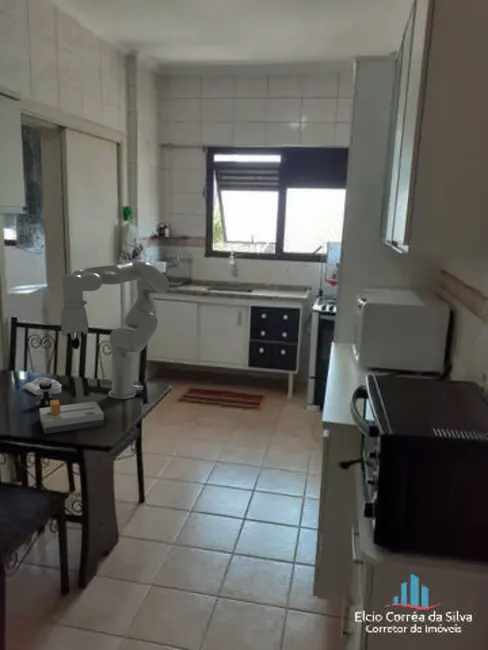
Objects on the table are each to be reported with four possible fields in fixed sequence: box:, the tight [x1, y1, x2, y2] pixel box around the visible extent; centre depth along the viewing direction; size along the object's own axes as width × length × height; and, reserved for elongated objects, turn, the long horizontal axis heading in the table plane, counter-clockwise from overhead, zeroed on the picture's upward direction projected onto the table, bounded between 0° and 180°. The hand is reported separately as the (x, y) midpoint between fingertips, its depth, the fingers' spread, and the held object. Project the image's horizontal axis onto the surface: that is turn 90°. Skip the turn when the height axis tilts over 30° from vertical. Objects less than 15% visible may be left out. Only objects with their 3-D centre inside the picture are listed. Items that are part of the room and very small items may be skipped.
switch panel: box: [39, 401, 105, 435], centre depth 201 cm, size 22×16×5 cm
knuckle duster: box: [22, 376, 62, 396], centre depth 235 cm, size 3×18×15 cm
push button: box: [36, 381, 53, 406], centre depth 216 cm, size 7×5×10 cm
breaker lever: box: [49, 399, 61, 415], centre depth 196 cm, size 3×5×6 cm, turn 29°
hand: (75, 348), depth 207 cm, fingers closed
